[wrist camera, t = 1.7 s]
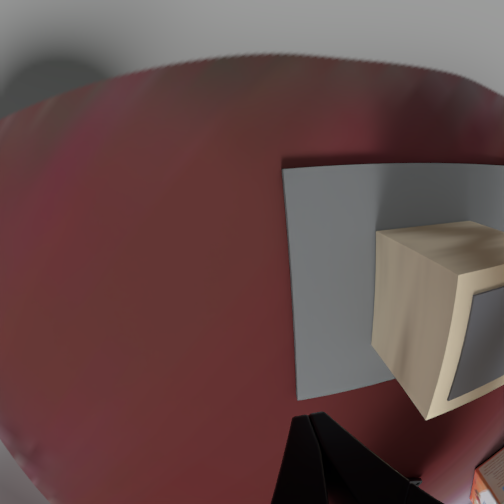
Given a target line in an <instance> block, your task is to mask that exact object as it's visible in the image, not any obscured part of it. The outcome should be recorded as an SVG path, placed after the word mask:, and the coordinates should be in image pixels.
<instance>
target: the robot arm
mask: <svg viewBox="0 0 504 504" xmlns="http://www.w3.org/2000/svg"><path fill="white" fill-rule="evenodd" d="M421 483H422V480H421V478H408V479H407V478H405V477H404V476H403V475H401V474H400V473H399V472H397V471H396V470H395V469H394V468H392V467H391V466H390V465H388V464H387V463H386V462H385V461H383V460H382V459H381V458H379V457H378V456H377V455H376V454H374V453H373V452H372V451H371V450H369V449H368V448H367V447H366V446H365V445H363V444H362V443H361V442H360V441H358V440H357V439H356V438H355V437H354V436H352V435H351V434H350V433H349V432H348V431H346V430H345V429H344V428H343V427H342V426H340V425H339V424H338V423H337V422H336V421H334V420H333V419H332V418H331V417H330V416H329V415H327V414H326V413H325V412H317V413H312V414H310V415H309V416H308V415H301V416H295V417H293V418H292V422H291V426H290V431H289V435H288V439H287V443H286V448H285V452H284V456H283V460H282V464H281V468H280V472H279V475H278V479H277V483H276V487H275V490H274V494H273V498H272V501H271V504H444V503H442V502H440V501H438V500H437V499H435V498H434V497H432V496H430V495H429V494H428V493H426V492H425V491H423V490H422V489H420V488H419V487H418V486H419V485H420V484H421Z"/></svg>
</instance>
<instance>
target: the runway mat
mask: <svg viewBox="0 0 504 504" xmlns="http://www.w3.org/2000/svg"><path fill="white" fill-rule="evenodd" d="M282 179H283V190H284V201H285V213H286V225H287V237H288V250H289V264H290V279H291V294H292V311H293V328H294V348H295V371H296V396H297V400H304V399H310V398H315V397H320V396H325V395H330V394H335V393H340V392H344V391H349V390H353V389H357V388H361V387H365V386H369V385H373V384H377V383H381V382H385V381H388V380H392V379H395V377H394V375H393V374H392V372H391V371H390V370H389V368H388V367H387V365H386V364H385V363H384V361H383V360H382V359H381V357H380V356H379V355H378V353H377V352H376V350H375V349H374V348H373V346H372V345H371V342H372V330H373V316H374V298H375V272H376V231H381V230H390V229H399V228H408V227H417V226H426V225H435V224H444V223H453V222H463V221H472V222H475V223H478V224H481V225H485V226H488V227H490V228H493V229H496V230H499V231H502V232H504V166H503V165H485V164H459V163H381V164H353V165H333V166H317V167H302V168H290V169H282Z"/></svg>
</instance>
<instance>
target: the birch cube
mask: <svg viewBox="0 0 504 504" xmlns="http://www.w3.org/2000/svg"><path fill="white" fill-rule="evenodd" d="M371 345H372V346H373V348H374V349H375V350H376V352H377V353H378V355H379V356H380V357H381V359H382V360H383V361H384V363H385V364H386V365H387V367H388V368H389V370H390V371H391V372H392V374H393V375H394V377H395V378H396V379H397V381H398V382H399V383H400V385H401V386H402V388H403V389H404V390H405V392H406V393H407V395H408V396H409V397H410V399H411V400H412V402H413V403H414V405H415V406H416V407H417V409H418V410H419V412H420V413H421V415H422V416H423V417H424V419H425V420H428V419H431V418H433V417H436V416H438V415H441V414H443V413H446V412H448V411H450V410H453V409H455V408H457V407H459V406H462V405H464V404H466V403H468V402H470V401H472V400H475V399H477V398H479V397H481V396H483V395H485V394H487V393H489V392H491V391H492V390H494V389H496V388H498V387H500V386H502V385H504V232H502V231H499V230H496V229H493V228H490V227H488V226H485V225H481V224H478V223H475V222H472V221H463V222H453V223H444V224H435V225H426V226H417V227H408V228H399V229H390V230H381V231H376V272H375V298H374V316H373V330H372V342H371Z"/></svg>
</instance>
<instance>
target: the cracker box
mask: <svg viewBox="0 0 504 504" xmlns="http://www.w3.org/2000/svg"><path fill="white" fill-rule="evenodd" d="M470 500H471V502H472V503H473V504H504V447H503V448H502V449H501V450H500V451H498V452H497V453H496V454H494V455H493V456H492V457H491V458H489V459H488V460H487V461H485V462H484V463H483V464H481V465H480V466H479V467H477V468H476V469H475V474H474V480H473V485H472V490H471V495H470Z"/></svg>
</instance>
